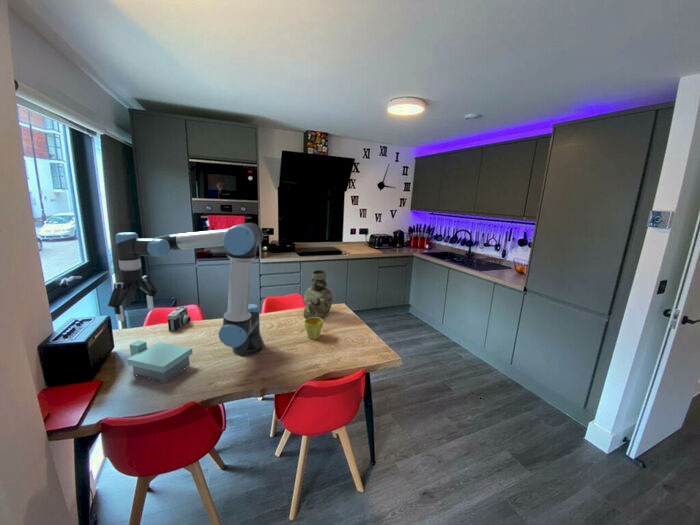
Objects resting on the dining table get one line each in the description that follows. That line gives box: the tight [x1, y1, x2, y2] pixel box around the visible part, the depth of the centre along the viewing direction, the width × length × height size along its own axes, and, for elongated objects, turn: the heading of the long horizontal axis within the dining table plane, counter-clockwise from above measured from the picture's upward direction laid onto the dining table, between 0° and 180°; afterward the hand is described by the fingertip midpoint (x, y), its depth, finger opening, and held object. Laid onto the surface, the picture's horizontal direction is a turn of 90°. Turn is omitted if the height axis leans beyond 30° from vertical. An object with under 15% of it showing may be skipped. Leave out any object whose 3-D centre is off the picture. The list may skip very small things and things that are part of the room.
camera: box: [167, 305, 192, 332], centre depth 166 cm, size 14×8×10 cm, turn 4°
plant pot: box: [303, 317, 324, 340], centre depth 160 cm, size 10×10×10 cm
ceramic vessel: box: [302, 269, 333, 320], centre depth 185 cm, size 19×21×30 cm
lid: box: [126, 340, 193, 373], centre depth 124 cm, size 23×15×6 cm, turn 76°
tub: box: [132, 356, 191, 383], centre depth 124 cm, size 16×13×7 cm
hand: (136, 314), depth 128 cm, fingers open, 13 cm apart
